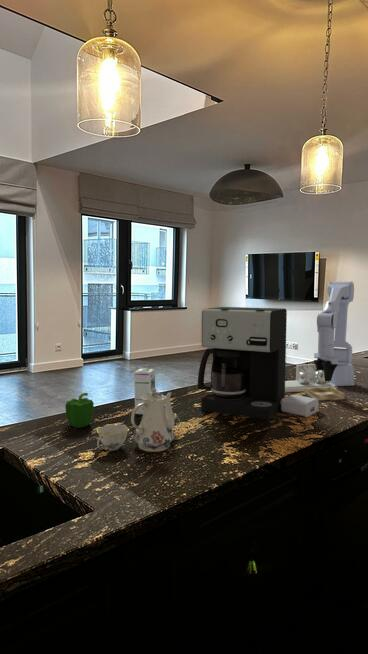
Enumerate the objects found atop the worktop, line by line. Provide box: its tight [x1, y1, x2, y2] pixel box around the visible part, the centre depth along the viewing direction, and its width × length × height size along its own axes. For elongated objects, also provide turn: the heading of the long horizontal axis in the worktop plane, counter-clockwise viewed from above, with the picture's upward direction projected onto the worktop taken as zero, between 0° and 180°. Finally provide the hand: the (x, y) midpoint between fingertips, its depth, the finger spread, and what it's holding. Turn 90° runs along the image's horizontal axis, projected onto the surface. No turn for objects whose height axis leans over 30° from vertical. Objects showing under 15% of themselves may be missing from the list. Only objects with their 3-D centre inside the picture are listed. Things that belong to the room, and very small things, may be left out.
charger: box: [280, 394, 319, 418], centre depth 154 cm, size 5×9×15 cm
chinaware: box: [96, 386, 181, 453], centre depth 122 cm, size 28×17×17 cm, turn 141°
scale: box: [285, 363, 336, 393], centre depth 188 cm, size 22×13×8 cm, turn 100°
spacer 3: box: [318, 369, 330, 383], centre depth 173 cm, size 4×4×4 cm
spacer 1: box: [298, 372, 310, 385], centre depth 186 cm, size 4×4×4 cm
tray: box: [304, 387, 346, 401], centre depth 174 cm, size 11×11×2 cm
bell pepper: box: [64, 392, 95, 429], centre depth 137 cm, size 8×8×10 cm
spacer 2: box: [314, 370, 325, 384], centre depth 188 cm, size 4×4×4 cm
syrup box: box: [133, 367, 156, 415], centre depth 152 cm, size 6×6×14 cm
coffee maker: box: [197, 306, 288, 421], centre depth 157 cm, size 28×20×35 cm
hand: (324, 379), depth 173 cm, fingers closed on spacer 3, 4 cm apart
